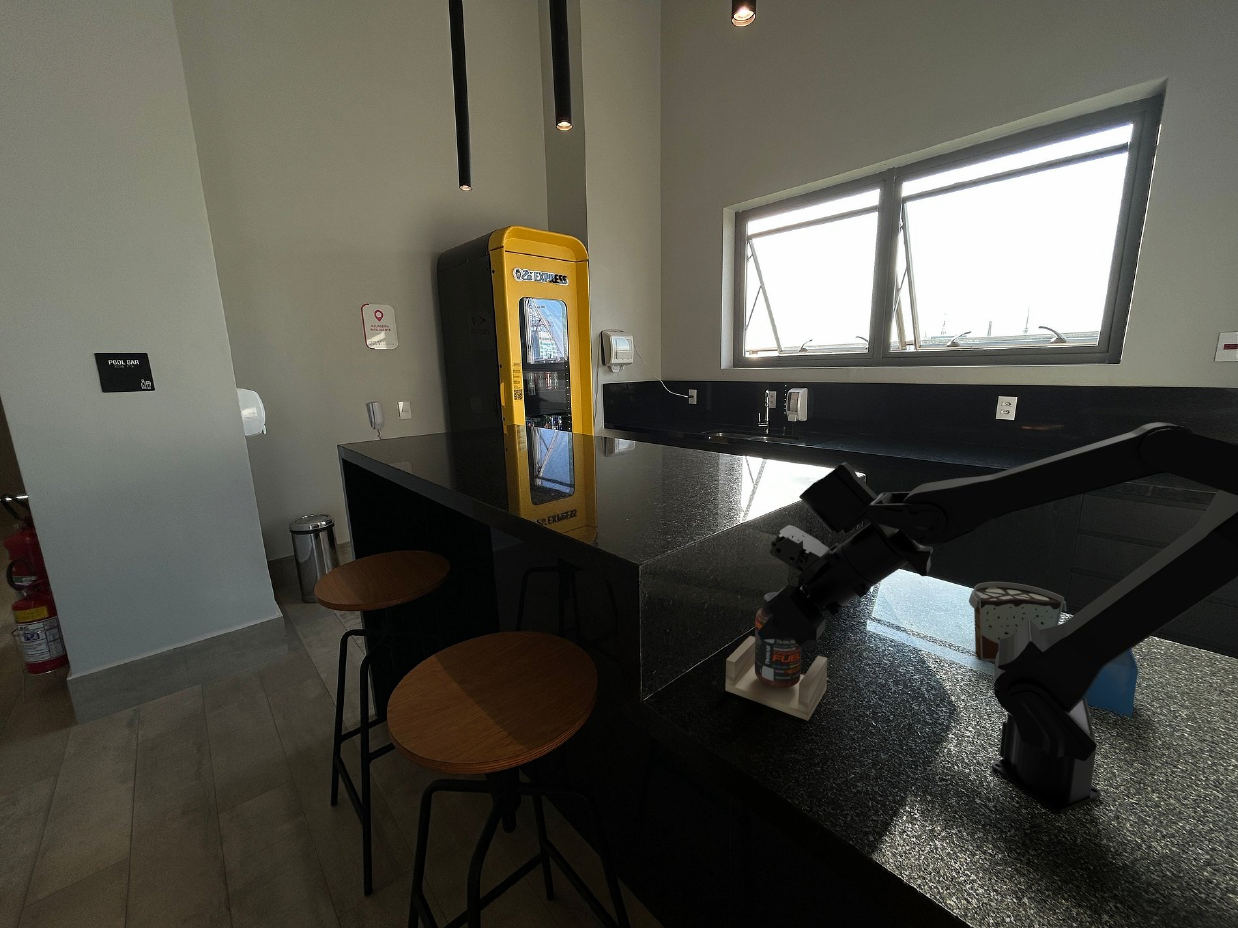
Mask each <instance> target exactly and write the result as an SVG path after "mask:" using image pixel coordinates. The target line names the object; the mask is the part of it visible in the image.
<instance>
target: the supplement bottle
mask: <svg viewBox="0 0 1238 928" xmlns="http://www.w3.org/2000/svg"><path fill="white" fill-rule="evenodd" d="M778 592H779V591H778ZM778 592H776V591H775V592H773V591H772V592H768V593H766V594H765V595H764V596H763V603H762V605H763V607H762V608H760V609H759V610H758V611H757V612H756V615H755V631H754V632H755V634H754V637H755V674H756V676H757V678H758V679H759V680H760V681H762V682H763V683H765V684H767V685H769V686H772V687H778V688H788V687H792V686H794V685H796V684H797V683H798V682H799V681H800V675H801V674H802V673H801V672H802V670H801V669H802V665H803V664H802V649H803V648H802V647H800V646H798V644H797V643H796V642H795V641H794V640H793V639H769V640H762V639H761V638H760V637H759V636H758V634H757V632H758V631H759V629H760V628H761V627H762V626H763V625H764V624H765V622H766V621H767V620H768V619H769V618H770V617H771V615H772V613H771V611H770V610H769V609H768V606H767V602H768V601H769V600H770V599H771V598H772V597H773V596H774V595H775V594H776V593H778Z"/></svg>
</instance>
